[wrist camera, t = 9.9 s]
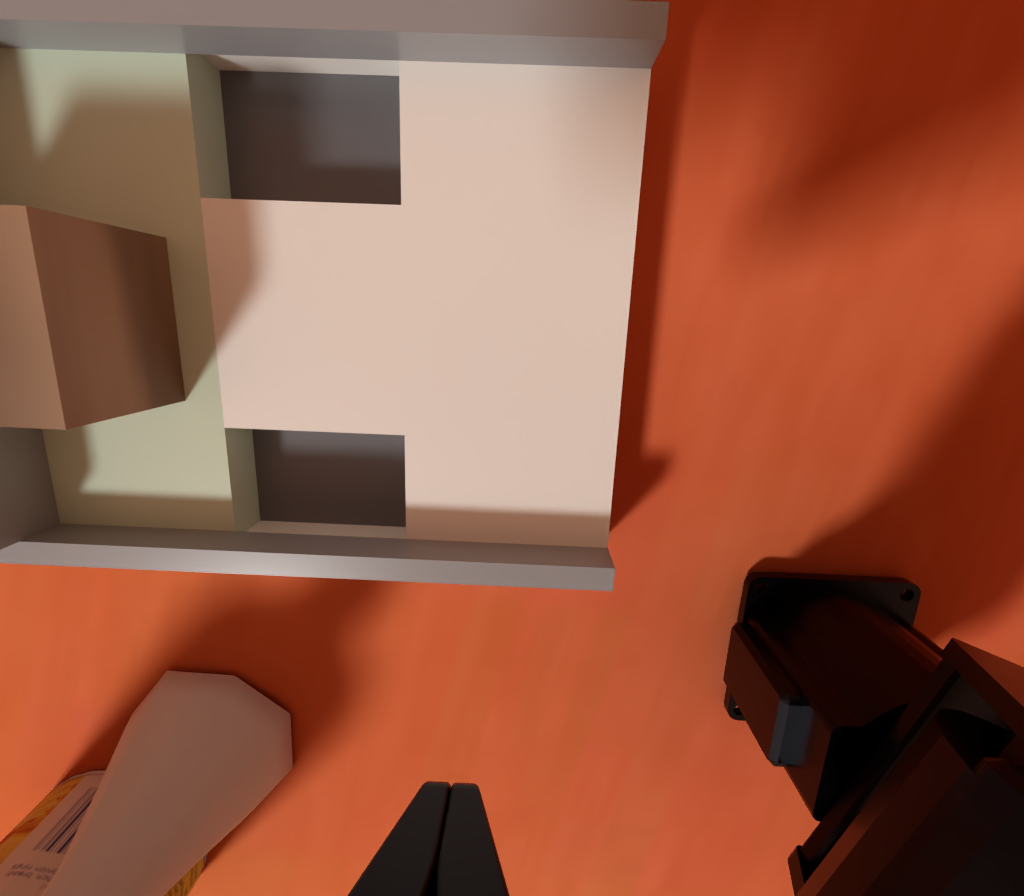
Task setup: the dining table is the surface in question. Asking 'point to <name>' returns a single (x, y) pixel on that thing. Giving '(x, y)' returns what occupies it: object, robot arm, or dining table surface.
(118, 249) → the walnut block
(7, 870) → the canned food
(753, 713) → the robot arm
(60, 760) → the dining table surface
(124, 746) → the flask
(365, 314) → the box
